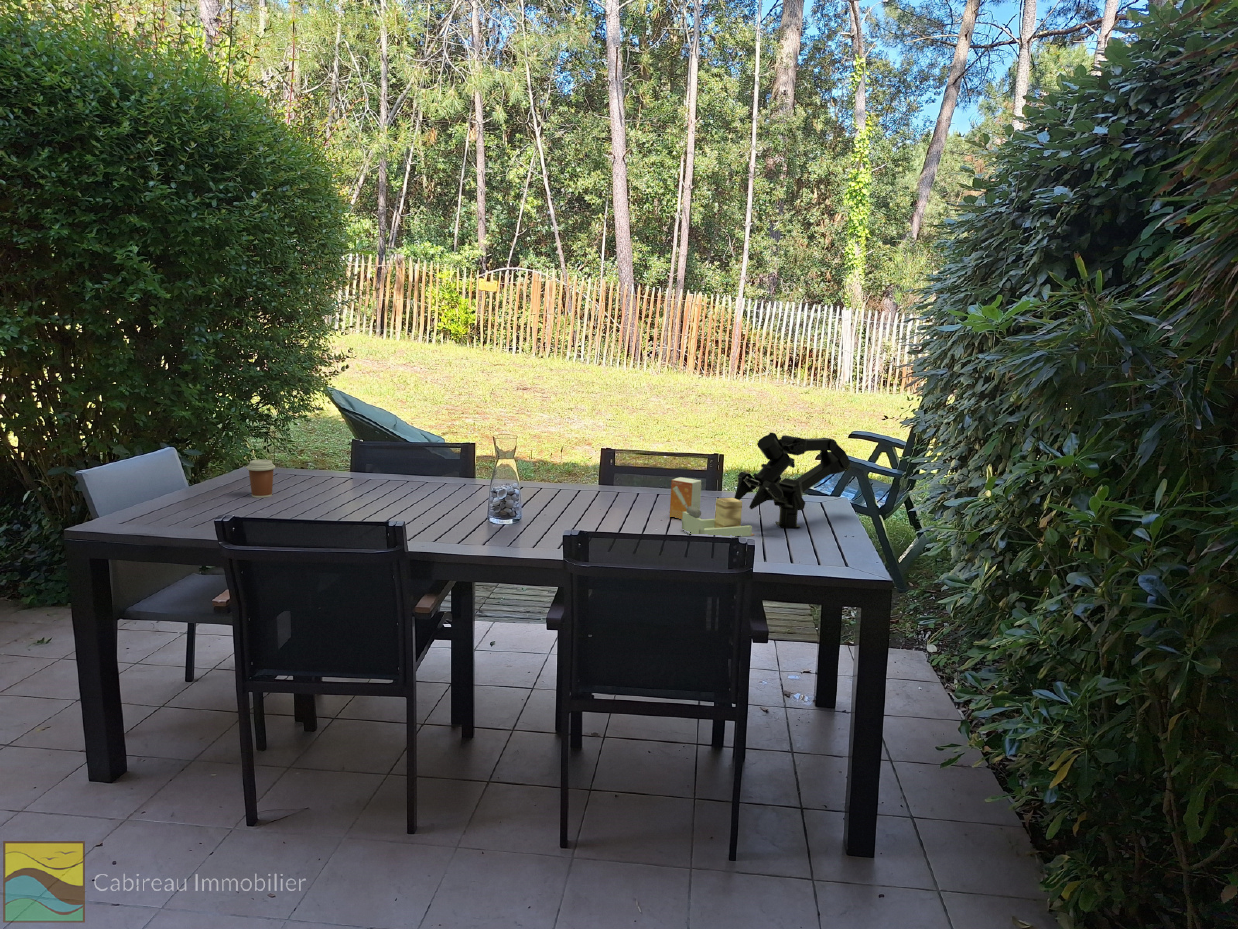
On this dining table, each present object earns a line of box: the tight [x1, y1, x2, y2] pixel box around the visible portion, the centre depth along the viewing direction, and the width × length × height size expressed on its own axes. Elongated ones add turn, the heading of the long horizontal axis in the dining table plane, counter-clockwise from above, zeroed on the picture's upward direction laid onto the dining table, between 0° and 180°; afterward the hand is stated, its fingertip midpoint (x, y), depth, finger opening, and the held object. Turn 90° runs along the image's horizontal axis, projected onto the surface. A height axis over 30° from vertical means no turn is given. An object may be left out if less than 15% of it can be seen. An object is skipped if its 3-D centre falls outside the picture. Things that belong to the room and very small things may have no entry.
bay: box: [681, 506, 755, 538], centre depth 273 cm, size 19×12×8 cm, turn 114°
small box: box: [669, 476, 702, 520], centre depth 290 cm, size 8×6×13 cm
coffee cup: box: [246, 458, 276, 499], centre depth 300 cm, size 9×9×12 cm
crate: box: [714, 497, 743, 528], centre depth 274 cm, size 6×6×10 cm
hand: (742, 505), depth 276 cm, fingers open, 9 cm apart
